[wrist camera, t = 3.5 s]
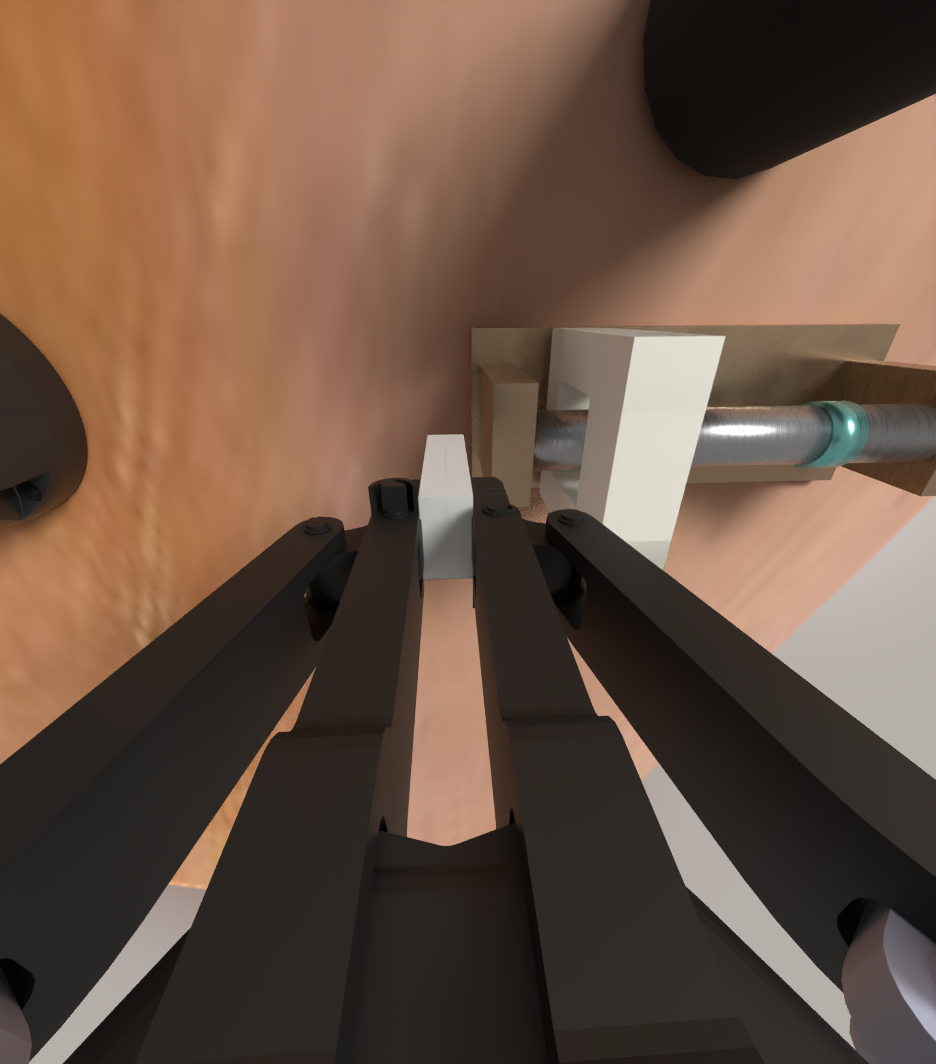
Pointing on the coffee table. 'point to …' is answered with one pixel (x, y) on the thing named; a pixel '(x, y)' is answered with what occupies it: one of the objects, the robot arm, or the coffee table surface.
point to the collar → (631, 426)
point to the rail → (727, 408)
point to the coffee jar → (780, 74)
